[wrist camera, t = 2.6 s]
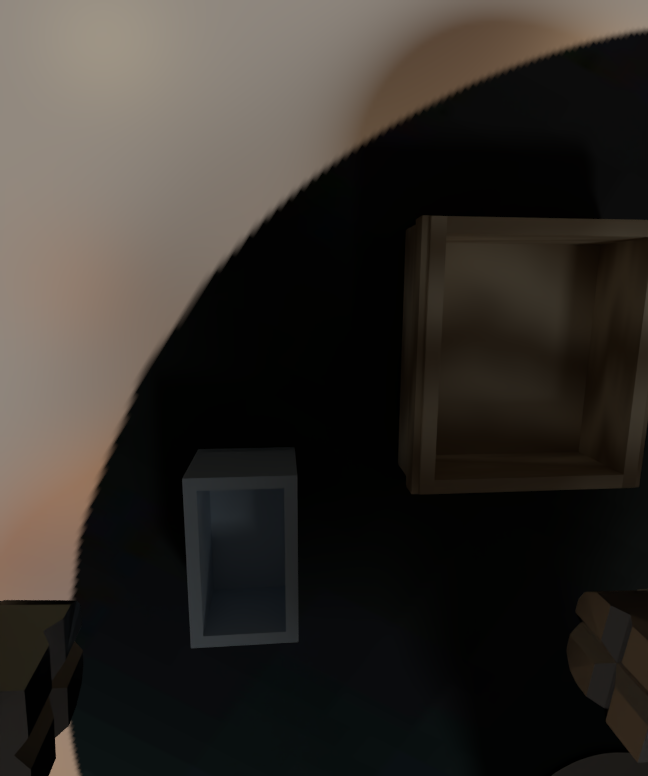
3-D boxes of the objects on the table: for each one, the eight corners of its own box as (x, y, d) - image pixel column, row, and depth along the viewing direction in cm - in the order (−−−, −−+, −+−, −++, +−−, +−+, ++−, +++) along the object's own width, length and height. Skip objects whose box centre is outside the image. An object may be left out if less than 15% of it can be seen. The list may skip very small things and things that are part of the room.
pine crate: (587, 459, 32) (641, 488, 28) (391, 464, 31) (412, 495, 26) (612, 232, 30) (677, 219, 25) (399, 228, 29) (423, 214, 24)
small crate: (295, 589, 32) (298, 641, 27) (204, 594, 32) (190, 648, 27) (294, 446, 30) (297, 475, 26) (198, 449, 30) (182, 478, 25)
